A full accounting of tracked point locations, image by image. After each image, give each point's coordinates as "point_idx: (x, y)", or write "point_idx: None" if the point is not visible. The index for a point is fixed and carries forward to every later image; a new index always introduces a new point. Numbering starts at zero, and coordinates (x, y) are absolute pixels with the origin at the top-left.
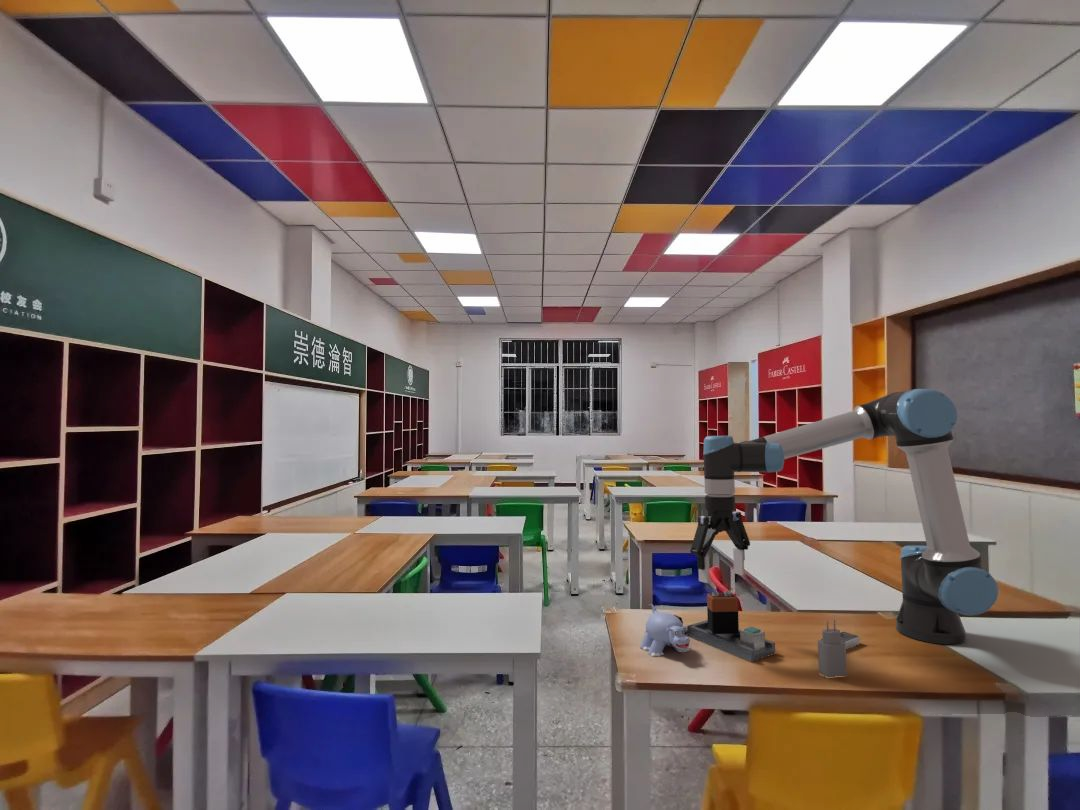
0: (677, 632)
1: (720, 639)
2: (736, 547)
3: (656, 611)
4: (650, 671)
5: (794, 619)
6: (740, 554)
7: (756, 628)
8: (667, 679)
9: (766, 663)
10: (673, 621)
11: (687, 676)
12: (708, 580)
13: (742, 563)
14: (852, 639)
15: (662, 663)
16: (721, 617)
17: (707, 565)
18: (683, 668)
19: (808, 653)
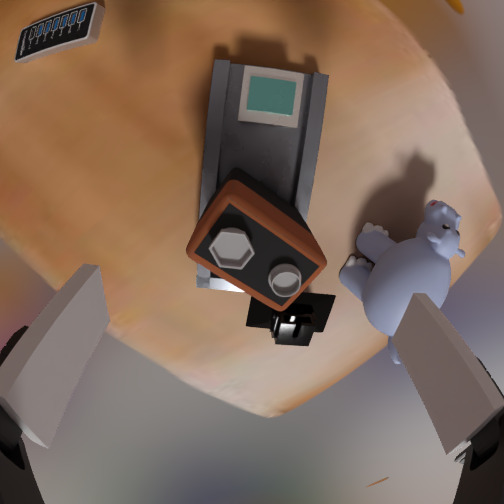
0: (458, 232)
1: (312, 180)
2: (20, 438)
3: None
4: (476, 216)
5: (6, 193)
6: (30, 377)
7: (252, 89)
8: (484, 178)
9: (295, 52)
10: (441, 269)
11: (463, 156)
12: (424, 301)
13: (56, 313)
14: (41, 20)
15: None
16: (288, 212)
17: (472, 362)
18: (444, 180)
19: (147, 29)
